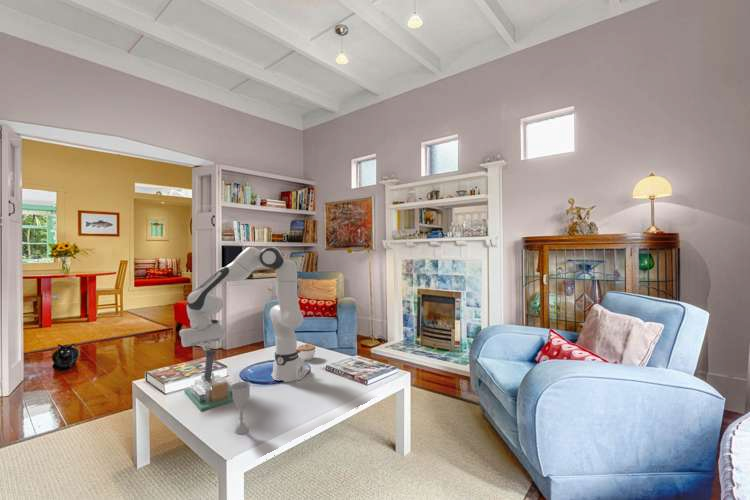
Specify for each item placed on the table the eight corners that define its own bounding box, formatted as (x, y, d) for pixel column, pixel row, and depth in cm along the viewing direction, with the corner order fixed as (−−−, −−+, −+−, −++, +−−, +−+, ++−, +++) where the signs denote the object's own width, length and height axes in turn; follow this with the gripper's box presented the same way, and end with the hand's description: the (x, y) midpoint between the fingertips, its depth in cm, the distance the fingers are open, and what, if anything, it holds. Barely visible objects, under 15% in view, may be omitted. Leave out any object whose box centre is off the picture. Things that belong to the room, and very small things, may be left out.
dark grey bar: (203, 379, 173) (202, 377, 174) (212, 377, 176) (210, 375, 177) (206, 352, 169) (205, 350, 170) (215, 350, 171) (214, 348, 172)
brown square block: (210, 401, 161) (210, 385, 161) (226, 396, 166) (226, 381, 165) (212, 402, 159) (211, 386, 159) (228, 398, 164) (227, 382, 164)
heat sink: (190, 392, 170) (189, 377, 170) (223, 383, 181) (222, 369, 180) (200, 403, 158) (200, 387, 158) (234, 393, 169) (234, 378, 169)
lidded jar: (310, 355, 229) (309, 340, 229) (318, 359, 221) (318, 344, 220) (294, 358, 222) (294, 343, 222) (303, 363, 214) (303, 347, 213)
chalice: (234, 437, 133) (234, 390, 133) (229, 430, 139) (228, 384, 138) (254, 430, 138) (253, 385, 138) (247, 423, 143) (247, 380, 143)
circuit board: (184, 392, 173) (184, 389, 173) (222, 382, 185) (222, 380, 185) (200, 411, 154) (200, 408, 154) (241, 398, 166) (241, 396, 166)
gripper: (179, 326, 172) (185, 350, 165) (222, 319, 186) (229, 342, 179) (177, 333, 176) (182, 357, 169) (219, 326, 189) (226, 349, 182)
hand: (207, 349), depth 174 cm, fingers closed
